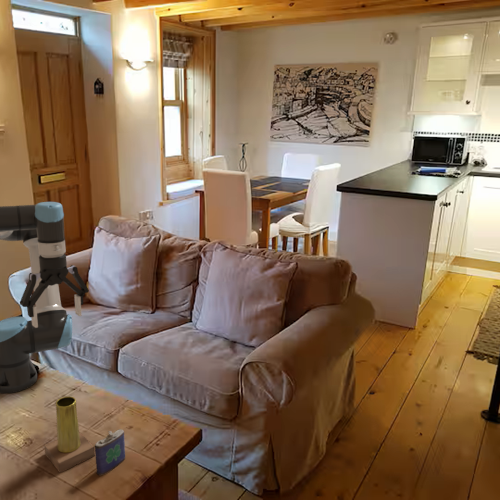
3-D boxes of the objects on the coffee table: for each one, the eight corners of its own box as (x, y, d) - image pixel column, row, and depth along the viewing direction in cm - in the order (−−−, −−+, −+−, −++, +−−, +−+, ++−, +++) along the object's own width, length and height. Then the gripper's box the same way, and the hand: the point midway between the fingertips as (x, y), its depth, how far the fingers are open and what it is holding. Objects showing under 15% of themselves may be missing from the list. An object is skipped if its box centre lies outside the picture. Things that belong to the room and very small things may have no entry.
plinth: (45, 454, 135) (44, 444, 134) (78, 438, 142) (78, 430, 141) (60, 472, 128) (59, 463, 127) (94, 455, 135) (94, 446, 134)
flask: (121, 454, 136) (120, 422, 133) (128, 459, 134) (127, 426, 131) (94, 472, 128) (92, 438, 126) (101, 477, 127) (99, 443, 124)
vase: (65, 456, 130) (62, 410, 126) (53, 446, 133) (49, 402, 130) (84, 445, 134) (82, 400, 131) (72, 436, 138) (69, 392, 134)
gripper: (12, 264, 130) (19, 335, 136) (97, 250, 147) (100, 313, 153) (3, 258, 135) (10, 327, 141) (86, 245, 152) (89, 307, 158)
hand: (57, 320), depth 147 cm, fingers open, 13 cm apart
